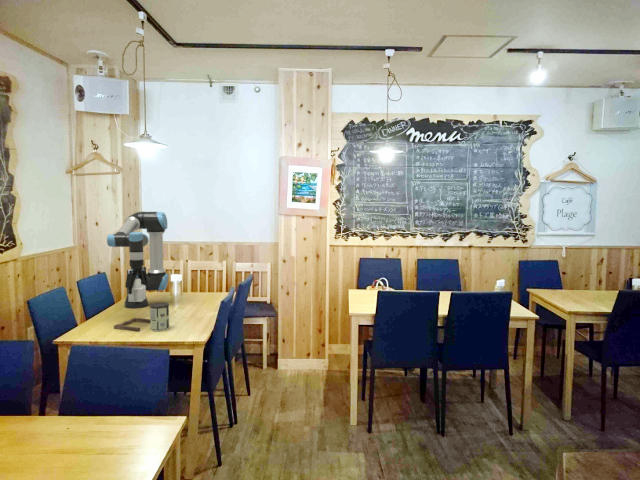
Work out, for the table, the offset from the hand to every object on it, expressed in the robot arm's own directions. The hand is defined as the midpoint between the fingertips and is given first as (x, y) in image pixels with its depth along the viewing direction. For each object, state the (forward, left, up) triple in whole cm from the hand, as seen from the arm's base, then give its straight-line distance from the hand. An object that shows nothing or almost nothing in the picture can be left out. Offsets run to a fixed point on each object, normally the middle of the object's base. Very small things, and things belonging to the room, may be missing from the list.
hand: (137, 297), depth 263 cm
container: (0, 0, -2) cm, 2 cm away
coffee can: (0, +15, -17) cm, 23 cm away
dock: (0, 0, -17) cm, 17 cm away
